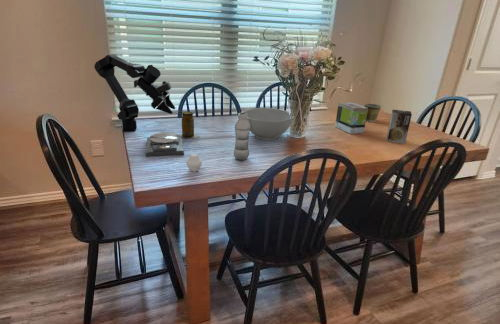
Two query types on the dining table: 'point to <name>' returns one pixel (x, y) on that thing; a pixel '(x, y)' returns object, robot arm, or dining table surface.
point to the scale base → (164, 148)
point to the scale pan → (164, 138)
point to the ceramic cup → (372, 112)
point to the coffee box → (399, 126)
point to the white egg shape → (194, 162)
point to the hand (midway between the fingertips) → (173, 111)
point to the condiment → (188, 125)
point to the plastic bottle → (242, 137)
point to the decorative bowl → (268, 122)
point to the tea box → (351, 117)
